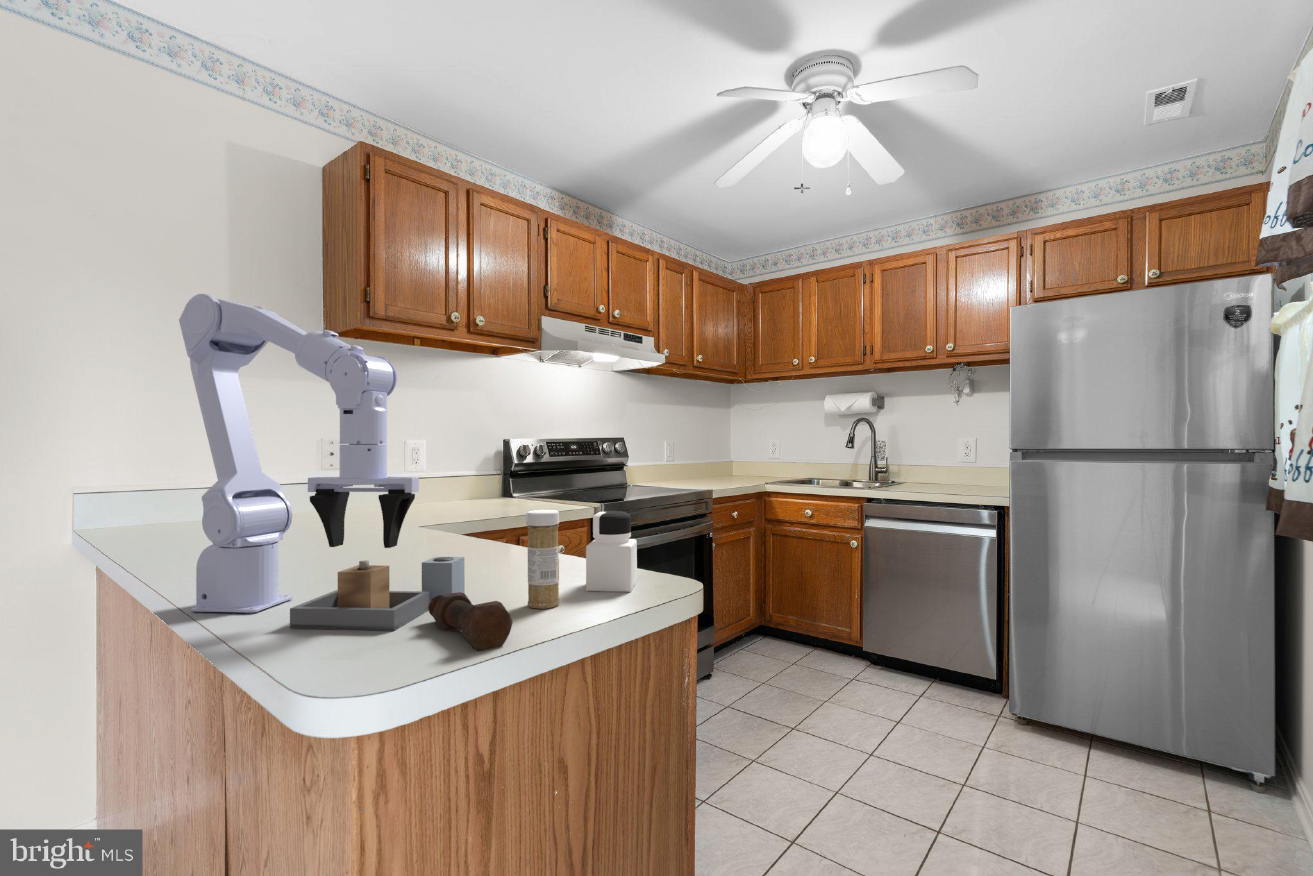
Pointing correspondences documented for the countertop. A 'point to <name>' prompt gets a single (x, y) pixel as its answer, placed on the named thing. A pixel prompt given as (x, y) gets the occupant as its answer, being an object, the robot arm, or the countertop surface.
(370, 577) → the block
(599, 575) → the medicine bottle
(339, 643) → the countertop surface
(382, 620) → the tray
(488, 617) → the bolt
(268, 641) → the countertop surface
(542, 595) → the sprinkles bottle
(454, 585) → the oversize block
